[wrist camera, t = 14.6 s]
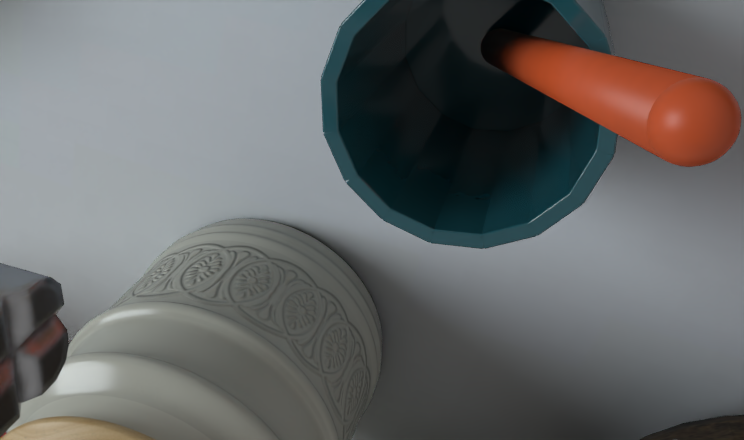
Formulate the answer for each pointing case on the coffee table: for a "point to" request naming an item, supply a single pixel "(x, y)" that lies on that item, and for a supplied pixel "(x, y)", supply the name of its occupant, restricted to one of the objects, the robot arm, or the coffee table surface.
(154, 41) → the coffee table surface
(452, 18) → the teal cup
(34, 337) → the robot arm
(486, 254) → the coffee table surface
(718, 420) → the bowl
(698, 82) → the orange thin rod
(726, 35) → the coffee table surface
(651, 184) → the coffee table surface
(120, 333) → the jar
